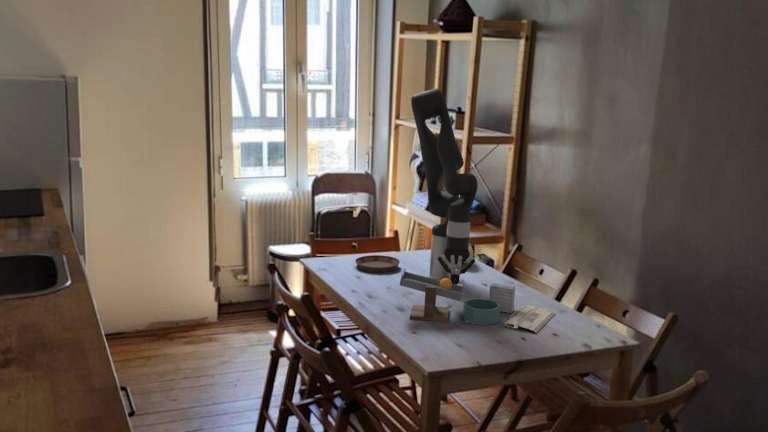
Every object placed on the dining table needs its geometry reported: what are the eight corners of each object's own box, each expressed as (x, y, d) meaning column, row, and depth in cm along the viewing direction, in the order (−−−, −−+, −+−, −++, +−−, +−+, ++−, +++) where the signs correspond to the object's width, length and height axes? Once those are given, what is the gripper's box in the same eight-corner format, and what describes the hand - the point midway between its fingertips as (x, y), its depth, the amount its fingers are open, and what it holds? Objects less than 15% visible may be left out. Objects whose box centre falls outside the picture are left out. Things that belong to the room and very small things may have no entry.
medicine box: (513, 310, 238) (515, 285, 236) (511, 314, 234) (513, 289, 232) (490, 306, 240) (492, 282, 239) (487, 310, 236) (489, 285, 235)
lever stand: (412, 307, 236) (414, 275, 234) (448, 310, 235) (450, 278, 233) (409, 319, 225) (411, 285, 223) (447, 322, 224) (449, 288, 222)
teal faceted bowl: (478, 310, 236) (479, 296, 235) (506, 320, 227) (507, 305, 226) (455, 317, 229) (456, 302, 228) (482, 327, 220) (484, 312, 219)
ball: (445, 287, 231) (445, 275, 230) (454, 290, 227) (454, 277, 227) (437, 290, 228) (436, 278, 227) (446, 292, 225) (445, 280, 224)
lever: (403, 276, 240) (406, 262, 239) (460, 291, 239) (464, 277, 238) (398, 290, 225) (401, 275, 224) (459, 306, 224) (463, 291, 223)
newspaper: (519, 308, 242) (520, 301, 241) (554, 319, 236) (555, 312, 236) (496, 327, 222) (498, 320, 222) (534, 339, 217) (535, 332, 216)
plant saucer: (348, 271, 276) (348, 263, 275) (363, 260, 292) (363, 252, 292) (392, 276, 271) (392, 269, 270) (404, 265, 288) (404, 257, 287)
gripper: (437, 235, 229) (434, 286, 232) (478, 238, 227) (474, 289, 231) (438, 230, 236) (435, 280, 240) (478, 233, 235) (474, 283, 238)
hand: (454, 284), depth 235 cm, fingers closed
